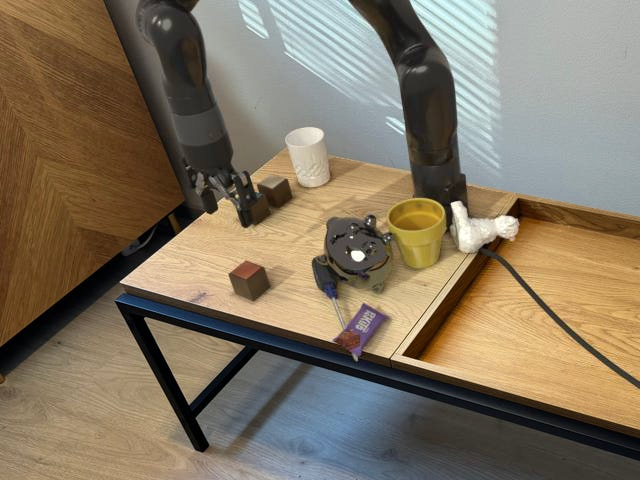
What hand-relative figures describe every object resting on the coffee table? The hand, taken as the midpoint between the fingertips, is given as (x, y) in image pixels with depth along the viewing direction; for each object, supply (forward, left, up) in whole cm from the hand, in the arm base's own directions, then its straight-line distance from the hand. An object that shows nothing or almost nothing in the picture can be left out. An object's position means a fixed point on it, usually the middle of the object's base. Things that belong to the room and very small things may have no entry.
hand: (230, 218), depth 135 cm
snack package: (-25, +2, -11) cm, 27 cm away
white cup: (+12, -32, -14) cm, 37 cm away
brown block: (+14, -22, -14) cm, 30 cm away
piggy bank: (-21, -12, -3) cm, 24 cm away
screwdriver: (-19, 0, -14) cm, 23 cm away
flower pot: (-24, -20, -14) cm, 34 cm away
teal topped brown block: (+14, -16, -14) cm, 25 cm away
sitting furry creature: (-28, -26, -11) cm, 39 cm away
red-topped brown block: (-2, +2, -14) cm, 14 cm away
